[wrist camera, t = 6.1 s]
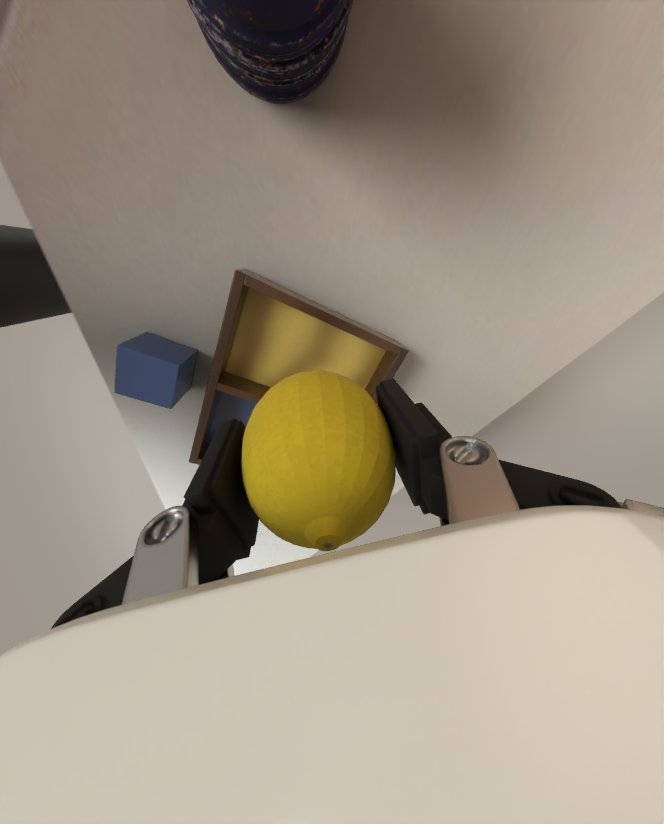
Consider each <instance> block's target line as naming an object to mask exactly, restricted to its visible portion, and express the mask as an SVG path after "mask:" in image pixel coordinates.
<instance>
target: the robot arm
mask: <svg viewBox="0 0 664 824" xmlns="http://www.w3.org/2000/svg"><path fill="white" fill-rule="evenodd" d="M376 395H377V402H378V406H379V407H380V409H381V411H382V412H383V414H384V417H385V419H386V422H387V424H388V427H389V430H390V433H391V436H392V439H393V444H394V450H395V467H396V469H397V471H398V473H399V475H400V477H401V479H402V481H403V484H404V486H405V488H406V490H407V492H408V494H409V496H410V498H411V500H412V503H413V504H414V506H418V505H419V506H420V508H421V510H422V512H423V514H427V513H431V514H434V515H436V516H438V517H440V524H441V526H440V527H436V528H432V529H428V530H423V531H420V532H415V533H411V534H407V535H402V536H398V537H394V538H390V539H386V540H381V541H377V542H373V543H369V544H364V545H360V546H356V547H352V548H348V549H344V550H340V551H335V552H331V553H327V554H323V555H319V556H315V557H310V558H306V559H302V560H298V561H294V562H290V563H286V564H282V565H278V566H273V567H269V568H265V569H261V570H257V571H253V572H249V573H245V574H241V575H237V576H234V569H233V565H232V564H233V563H234V562H235V560H239V559H243V558H247V557H249V555H250V549H251V546H254V544H255V541H256V535H257V528H258V522H259V518H258V516H257V515H256V514H255V512H254V510H253V509H252V507H251V506H250V503H249V500H248V497H247V494H246V490H245V487H244V483H243V478H242V468H241V459H242V444H243V436H244V432H245V429H246V428H245V426H244V424H243V422H242V421H238V420H237V419H231V420H227V421H223V422H221V423H220V425H219V427H218V429H217V431H216V433H215V435H214V437H213V439H212V441H211V443H210V445H209V447H208V449H207V451H206V453H205V455H204V457H203V459H202V461H201V463H200V465H199V467H198V469H197V471H196V473H195V475H194V477H193V479H192V481H191V483H190V485H189V487H188V489H187V491H186V493H185V495H184V498H185V501H184V503H183V505H182V506H175V507H172V508H169V509H166V510H165V511H163V512H161V513H160V514H158V515H157V516H156V517H154V518H153V519H152V520H151V521H150V522H149V523H148V524H147V525H146V526H145V527H144V529H143V530H142V532H141V533H140V536H139V538H138V542H137V545H136V549H135V553H134V556H133V557H131V558H130V559H129V560H128V561H126V562H125V563H124V564H123V565H121V566H120V567H119V568H118V569H117V570H115V571H114V572H113V573H112V574H110V575H109V576H108V577H107V578H105V579H104V580H103V581H102V582H100V583H99V584H98V585H97V586H95V587H94V588H93V589H92V590H91V591H89V592H88V593H87V594H86V595H84V596H83V597H82V598H81V599H79V600H78V601H77V602H76V603H74V604H73V605H72V606H71V607H70V608H69V609H68V610H66V611H65V612H64V613H63V614H62V615H61V616H60V618H59V619H58V620H57V621H56V623H55V624H54V625H53V627H52V628H51V629H50V630H48V631H46V632H44V633H42V634H39V635H37V636H35V637H33V638H31V639H29V640H27V641H25V642H23V643H21V644H19V645H17V646H16V647H14V648H12V649H10V650H9V651H7V652H5V653H3V654H2V655H0V824H664V508H662V507H658V506H653V505H649V504H645V503H641V502H637V501H633V500H629V499H625V501H624V503H620V502H617V501H616V500H615V499H614V498H613V497H612V496H611V495H609V494H608V493H607V492H605V491H604V490H601V489H600V488H598V487H596V486H594V485H592V484H589V483H586V482H583V481H580V480H576V479H572V478H568V477H564V476H560V475H556V474H552V473H549V472H544V471H541V470H537V469H533V468H529V467H525V466H521V465H517V464H513V463H509V462H506V461H501V460H498V458H497V456H496V453H495V451H494V450H493V448H492V447H491V446H490V445H489V444H488V443H486V442H485V441H483V440H480V439H478V438H474V437H470V436H457V437H452V436H451V435H450V434H449V433H448V432H447V431H446V429H445V428H444V427H443V426H442V425H441V424H440V423H439V421H438V420H437V419H436V418H435V417H434V416H433V415H432V414H431V412H430V411H429V410H428V409H427V408H426V407H425V406H424V405H423V404H422V403H417V404H414V403H413V401H412V400H411V399H410V398H409V397H408V395H407V394H406V393H405V392H404V391H403V389H402V388H401V387H400V386H399V384H398V383H397V382H396V381H395V380H394V379H393V378H392V379H388V380H384V381H380V384H379V385H378V386H376Z"/></svg>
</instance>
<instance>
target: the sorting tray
mask: <svg viewBox="0 0 664 824" xmlns="http://www.w3.org/2000/svg"><path fill="white" fill-rule="evenodd" d="M407 353H408V350H407V349H406V348H404V347H403V346H402V345H401V344H399V343H398V342H397V341H395V340H393V339H391V338H389V337H387V336H385V335H383V334H381V333H378V332H376V331H374V330H372V329H370V328H368V327H366V326H364V325H362V324H360V323H357V322H355V321H353V320H351V319H349V318H347V317H345V316H343V315H341V314H339V313H336V312H334V311H332V310H330V309H328V308H326V307H324V306H322V305H320V304H318V303H315V302H313V301H311V300H309V299H307V298H305V297H303V296H301V295H299V294H297V293H294V292H292V291H290V290H288V289H286V288H284V287H282V286H280V285H278V284H276V283H273V282H271V281H269V280H267V279H265V278H263V277H261V276H259V275H257V274H255V273H252V272H250V271H248V270H246V269H238V270H235V273H234V277H233V282H232V286H231V290H230V294H229V298H228V302H227V306H226V310H225V315H224V319H223V323H222V327H221V331H220V335H219V339H218V343H217V348H216V352H215V356H214V360H213V364H212V368H211V372H210V376H209V381H208V385H207V389H206V393H205V397H204V401H203V405H202V409H201V414H200V418H199V422H198V426H197V430H196V434H195V438H194V442H193V447H192V451H191V455H190V459H189V462H191V463H195V464H196V463H197V464H199V465H200V463H201V461H202V459H203V457H204V455H205V453H206V451H207V449H208V447H209V445H210V443H211V441H212V439H213V437H214V435H215V433H216V431H217V429H218V427H219V425H220V423H221V422H223V421H227V420H231V419H237V420H238V421H242V422H243V424H244V426H245V428H246V426H247V424H248V421H249V419H250V416H251V414H252V412H253V409H254V408H255V406H256V405H257V403H258V402H259V401H260V400H261V398H262V397H263V396H264V395H265V394H266V392H267V391H268V390H269V389H270V388H271V387H273V386H274V385H276V384H277V383H278V382H280V381H281V380H283V379H284V378H286V377H289V376H292V375H294V374H297V373H300V372H307V371H315V370H318V371H327V372H334V373H336V374H339V375H342V376H344V377H347V378H349V379H351V380H352V381H354V382H355V383H356V384H358V385H359V386H361V387H362V388H363V389H364V390H366V391H367V392H368V394H369V395H370V396H371V397H372V399H373V400H374V401H375V402H376V404H377V403H378V402H377V395H376V386H378V385H379V384H380V381H384V380H388V379H392V378H393V376H394V375H395V373H396V371H397V370H398V368H399V366H400V365H401V363H402V361H403V360H404V358H405V356H406V355H407Z"/></svg>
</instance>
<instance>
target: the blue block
mask: <svg viewBox="0 0 664 824" xmlns="http://www.w3.org/2000/svg"><path fill="white" fill-rule="evenodd" d="M197 352H198V350H196V349H193V348H190V347H187V346H185V345H182V344H179V343H176V342H174V341H171V340H168V339H165V338H162V337H160V336H157V335H154V334H151V333H149V332H146V333H144V334H141V335H139V336H137V337H135V338H132V339H130V340H128V341H125V342H123V343H121V344H119V345H117V360H116V376H115V393H117V394H121V395H124V396H128V397H131V398H135V399H138V400H142V401H145V402H148V403H152V404H155V405H159V406H162V407H166V408H169V409H172V408H173V406H174V405H175V404H176V403H177V402H178V401H179V400H180V399H181V398H182V396H183V395H184V394H185V393H186V392H187V391H188V390H189V389H190V385H191V380H192V375H193V371H194V366H195V361H196V356H197Z"/></svg>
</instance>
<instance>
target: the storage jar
mask: <svg viewBox="0 0 664 824" xmlns="http://www.w3.org/2000/svg"><path fill="white" fill-rule="evenodd" d="M187 2H188V4H189V6H190V8H191V10H192V12H193V13H194V15H195V17H196V19H197V21H198V24H199V26H200V28H201V30H202V32H203V34H204V37H205V39H206V41H207V43H208V45H209V47H210V48H211V50H212V52H213V53H214V55H215V57H216V58H217V60H218V61H219V63H220V64H221V65H222V67H223V68H224V69H225V71H226V72H227V73H228V74H229V75H230V76H231V77H232V78H233V79H234V80H235V81H236V82H237V83H238V84H239V85H240V86H241V87H242V88H244V89H245V90H246V91H248V92H249V93H250V94H252V95H254V96H256V97H258V98H260V99H262V100H266V101H269V102H273V103H288V102H294V101H297V100H299V99H302V98H304V97H306V96H307V95H309V94H310V93H312V92H313V91H314V90H315V89H316V88H317V87H318V86H319V85H320V84H321V83H322V82H323V81H324V80H325V78H326V77H327V75H328V74H329V72H330V71H331V69H332V67H333V65H334V63H335V61H336V59H337V57H338V54H339V52H340V49H341V46H342V43H343V40H344V35H345V31H346V26H347V22H348V17H349V13H350V10H351V7H352V4H353V0H187Z"/></svg>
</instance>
